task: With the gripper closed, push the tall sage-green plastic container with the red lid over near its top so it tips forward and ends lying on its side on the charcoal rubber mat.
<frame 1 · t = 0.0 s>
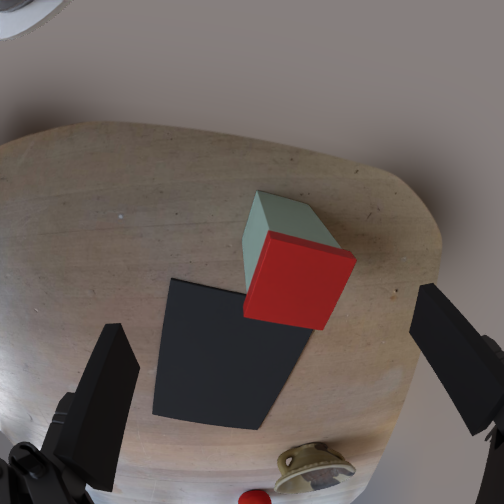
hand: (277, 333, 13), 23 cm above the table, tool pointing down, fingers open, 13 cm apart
bowl: (308, 448, 59), on the table
tomato: (253, 491, 70), on the table
container: (274, 222, 35), on the table
mat: (223, 373, 45), on the table
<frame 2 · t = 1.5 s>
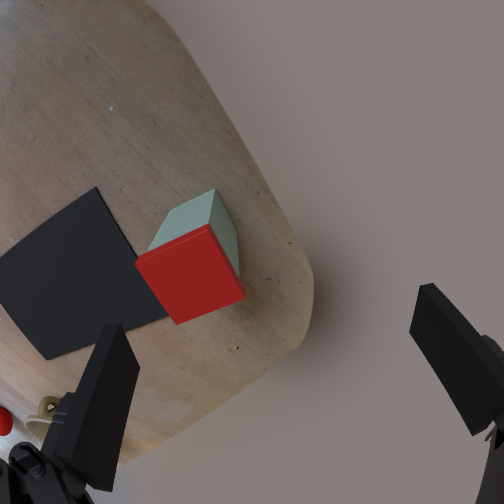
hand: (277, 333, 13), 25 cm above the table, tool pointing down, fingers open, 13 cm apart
bowl: (72, 410, 53), on the table
tomato: (3, 409, 55), on the table
container: (203, 220, 37), on the table
mat: (60, 292, 40), on the table
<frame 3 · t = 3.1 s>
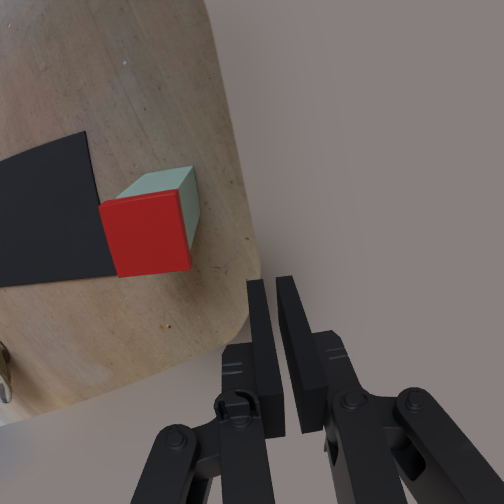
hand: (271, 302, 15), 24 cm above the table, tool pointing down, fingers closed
container: (172, 193, 36), on the table
mat: (20, 223, 36), on the table
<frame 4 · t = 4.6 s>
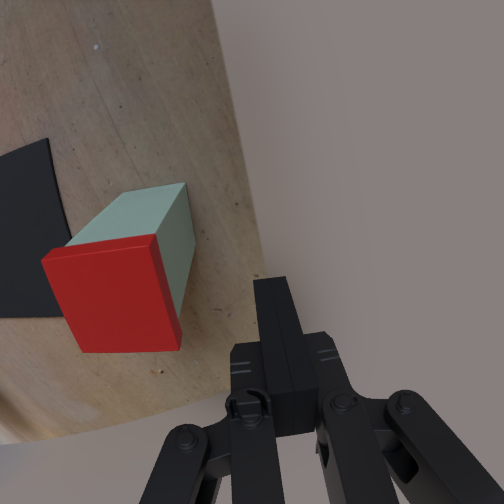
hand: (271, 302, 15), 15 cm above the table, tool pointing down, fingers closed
container: (159, 218, 28), on the table
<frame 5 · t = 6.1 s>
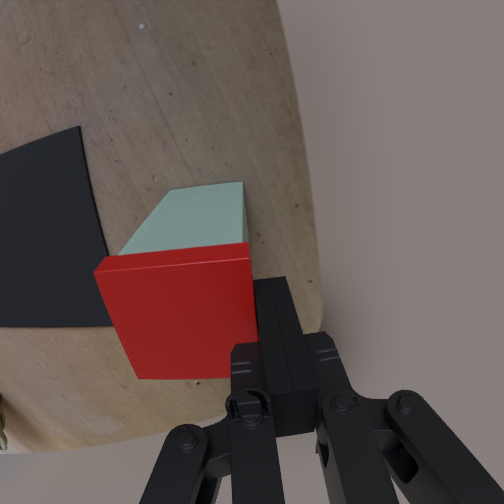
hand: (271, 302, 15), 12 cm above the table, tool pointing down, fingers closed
container: (210, 220, 26), on the table, touching gripper
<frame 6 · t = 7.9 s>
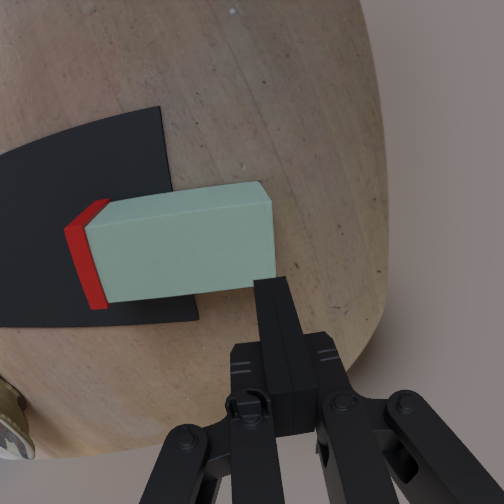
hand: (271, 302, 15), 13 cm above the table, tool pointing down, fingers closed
bowl: (9, 390, 36), on the table
container: (267, 228, 23), point 3 cm above the table, tilted 87°, touching mat
mat: (40, 244, 26), on the table
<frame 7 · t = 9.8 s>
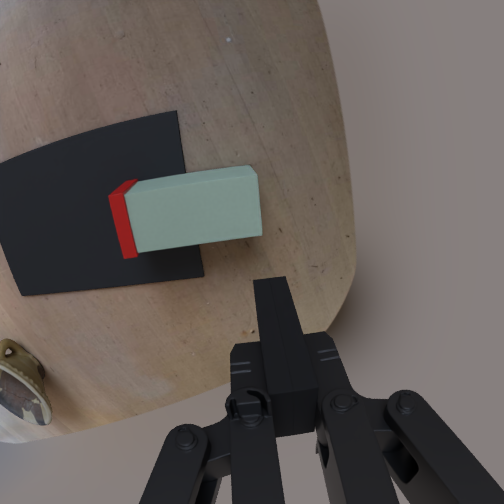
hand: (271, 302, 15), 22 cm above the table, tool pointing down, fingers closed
bowl: (28, 361, 44), on the table
container: (255, 197, 32), point 3 cm above the table, tilted 87°, touching mat
mat: (76, 218, 34), on the table
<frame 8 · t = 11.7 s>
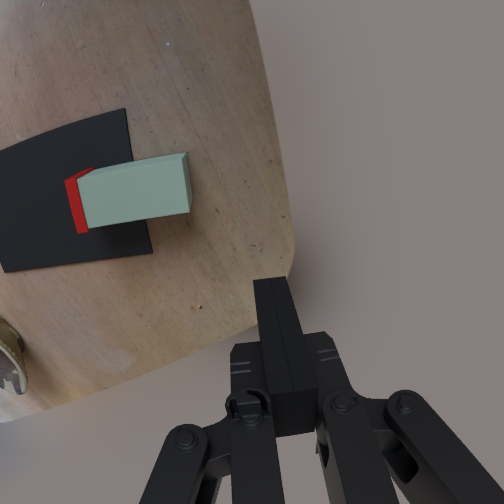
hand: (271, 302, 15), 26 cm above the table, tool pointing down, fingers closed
bowl: (11, 335, 48), on the table
container: (187, 180, 35), point 3 cm above the table, tilted 87°, touching mat
mat: (47, 202, 37), on the table
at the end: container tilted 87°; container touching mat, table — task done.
